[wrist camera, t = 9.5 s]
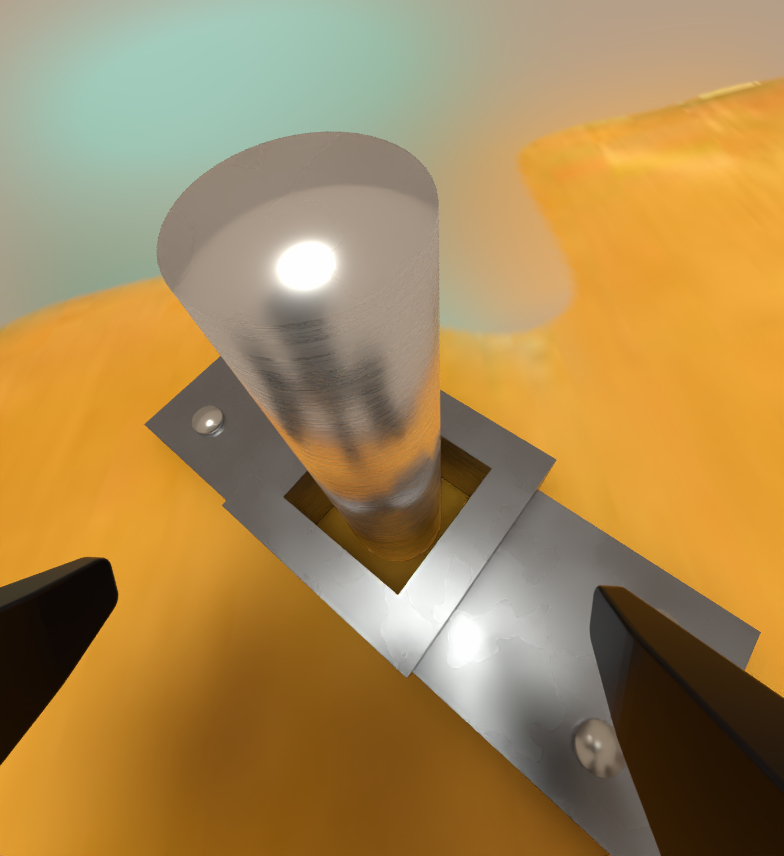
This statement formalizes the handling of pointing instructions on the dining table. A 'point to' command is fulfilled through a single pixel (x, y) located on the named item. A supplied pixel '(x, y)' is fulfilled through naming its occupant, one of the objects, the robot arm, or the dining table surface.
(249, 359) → the pin
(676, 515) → the dining table surface
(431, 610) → the grey socket base plate
